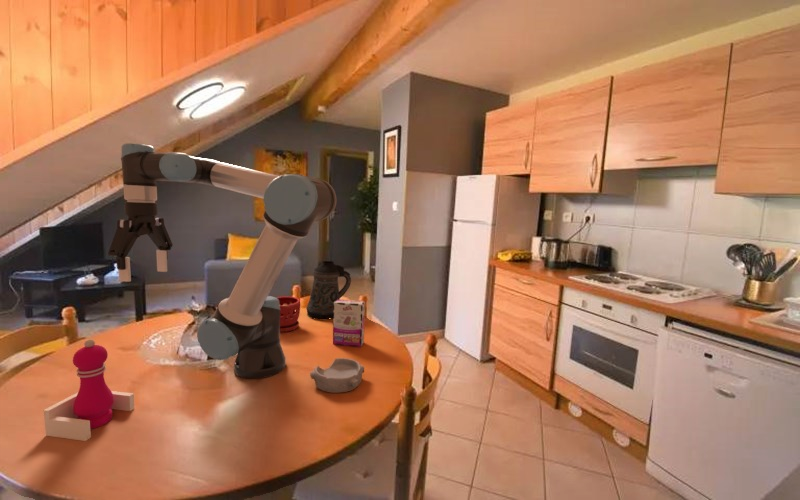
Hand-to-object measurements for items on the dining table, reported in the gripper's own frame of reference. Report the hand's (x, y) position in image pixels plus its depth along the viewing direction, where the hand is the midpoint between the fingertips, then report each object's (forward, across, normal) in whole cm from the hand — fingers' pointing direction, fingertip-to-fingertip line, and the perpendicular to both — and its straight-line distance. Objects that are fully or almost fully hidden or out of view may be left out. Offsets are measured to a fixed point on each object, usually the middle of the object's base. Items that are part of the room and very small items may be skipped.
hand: (145, 276), depth 103 cm
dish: (+30, -4, +56) cm, 64 cm away
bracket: (+30, +23, +4) cm, 38 cm away
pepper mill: (+30, +23, +5) cm, 38 cm away
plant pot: (+30, -43, +23) cm, 57 cm away
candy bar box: (+30, -33, +53) cm, 69 cm away
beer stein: (+30, -66, +35) cm, 80 cm away
